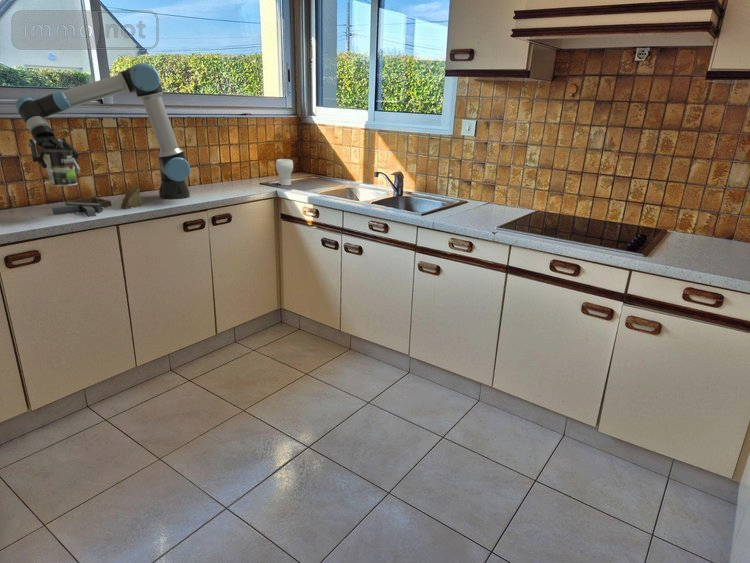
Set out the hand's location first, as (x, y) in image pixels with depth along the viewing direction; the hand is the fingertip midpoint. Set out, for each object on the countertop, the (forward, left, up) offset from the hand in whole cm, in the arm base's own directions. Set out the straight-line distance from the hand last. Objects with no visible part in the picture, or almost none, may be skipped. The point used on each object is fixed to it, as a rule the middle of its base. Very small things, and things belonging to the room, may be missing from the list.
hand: (65, 172), depth 207 cm
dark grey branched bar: (+2, -8, -19) cm, 21 cm away
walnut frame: (+7, -22, -19) cm, 30 cm away
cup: (-64, -110, -19) cm, 128 cm away
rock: (-12, -25, -19) cm, 34 cm away
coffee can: (+3, -2, -6) cm, 6 cm away
